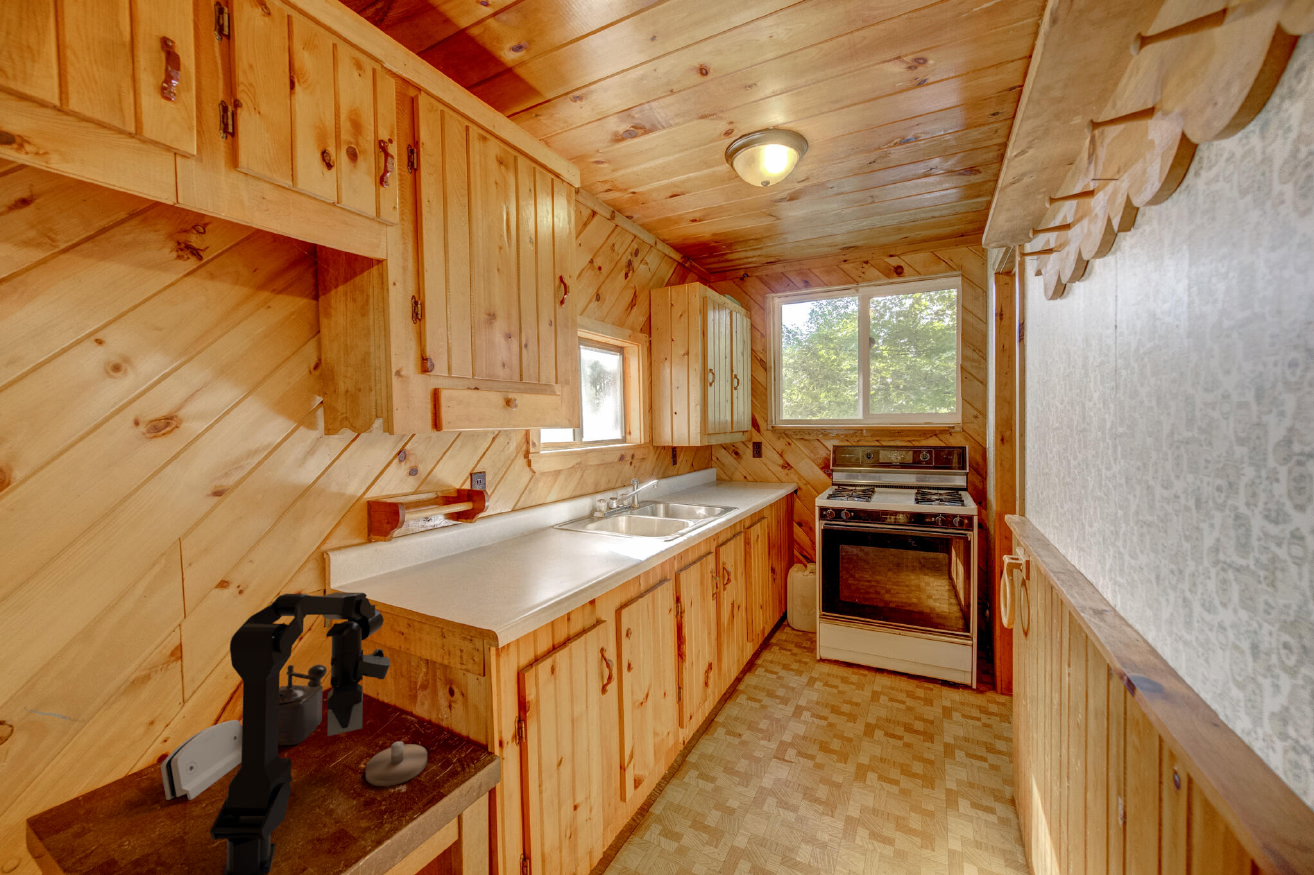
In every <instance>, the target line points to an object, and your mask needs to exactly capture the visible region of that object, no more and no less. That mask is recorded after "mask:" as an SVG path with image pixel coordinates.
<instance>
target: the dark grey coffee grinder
mask: <svg viewBox="0 0 1314 875" xmlns="http://www.w3.org/2000/svg"><path fill="white" fill-rule="evenodd" d="M294 668H295V666H294V665H293V664H289V665H288V666H287V671H286V676H287V685H281V686H279V721H278V745H288V746H294V745H295V746H296V745H300V744H301V743H302V742H303V741H305V740H306V739H307V738H309V736H310V735H311V734H312V733H313V732H315V730H316V729H317V728H318V727H319V726H318V725H320V724H321V723H322V721H323V713H322V712H323V690H324V689H323V685H322V679H323V678H324V677H325V676H326V675H327V671H328V669H327V667H326V666H325V665H322V664H316V665H315V664H314V665H312V666H311V667H309V669H308V671H307V674H306V673H305V674H304V673H299V672H296V671H295V670H294ZM293 677H295V678H299V679H303V680H304V679H305V680H309V681H308V682H307V685H299V684H293ZM320 722H321V723H320ZM317 726H318V727H317ZM316 727H317V728H316ZM309 734H310V735H309ZM305 738H306V739H305Z"/></svg>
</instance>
